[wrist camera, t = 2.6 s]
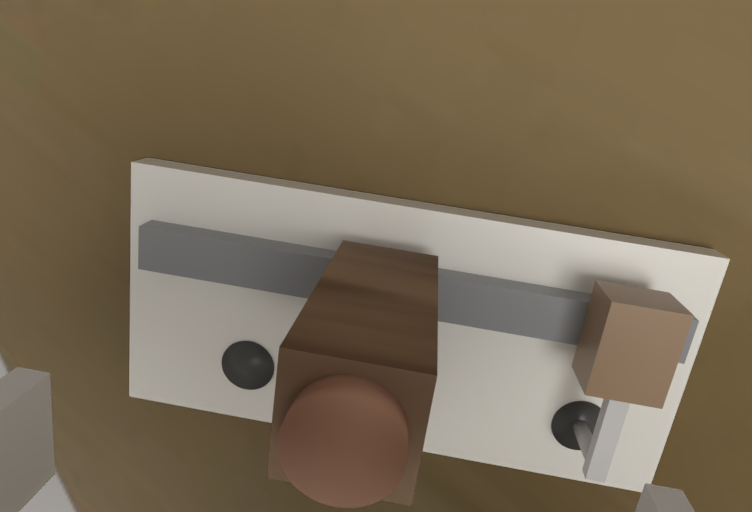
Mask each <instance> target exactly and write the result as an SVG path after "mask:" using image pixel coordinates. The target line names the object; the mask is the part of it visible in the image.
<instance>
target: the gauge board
mask: <svg viewBox="0 0 752 512" xmlns="http://www.w3.org/2000/svg"><path fill="white" fill-rule="evenodd" d="M343 240H346V241H352V242H358V243H364V244H370V245H376V246H382V247H387V248H393V249H399V250H405V251H411V252H417V253H423V254H429V255H435V256H438V361H437V380H436V385H435V390H434V395H433V400H432V405H431V411H430V416H429V421H428V426H427V431H426V436H425V441H424V446H423V451H424V452H429V453H434V454H440V455H445V456H450V457H456V458H461V459H466V460H472V461H477V462H482V463H488V464H493V465H498V466H504V467H509V468H514V469H520V470H525V471H530V472H536V473H541V474H546V475H552V476H557V477H562V478H568V479H573V480H578V481H584V482H589V483H595V484H600V485H605V486H611V487H616V488H621V489H627V490H632V491H637V492H642V491H643V488H644V485H645V483H647V484H651V483H652V480H653V477H654V474H655V471H656V468H657V466H658V463H659V460H660V457H661V454H662V451H663V449H664V446H665V443H666V440H667V437H668V434H669V431H670V429H671V426H672V423H673V420H674V417H675V414H676V412H677V409H678V406H679V403H680V400H681V397H682V394H683V392H684V389H685V386H686V383H687V380H688V377H689V375H690V372H691V369H692V366H693V363H694V360H695V357H696V355H697V352H698V349H699V346H700V343H701V340H702V338H703V335H704V332H705V329H706V326H707V323H708V320H709V318H710V315H711V312H712V309H713V306H714V303H715V301H716V298H717V295H718V292H719V289H720V286H721V283H722V281H723V278H724V275H725V272H726V269H727V266H728V264H729V261H730V259H729V258H727V257H726V256H724V255H723V254H721V253H719V252H718V251H716V250H715V249H711V248H705V247H699V246H692V245H686V244H680V243H674V242H668V241H661V240H655V239H649V238H643V237H637V236H630V235H624V234H618V233H612V232H606V231H600V230H593V229H587V228H581V227H575V226H569V225H562V224H556V223H550V222H544V221H538V220H532V219H525V218H519V217H513V216H507V215H501V214H494V213H488V212H482V211H476V210H470V209H464V208H457V207H451V206H445V205H439V204H433V203H426V202H420V201H414V200H408V199H402V198H395V197H389V196H383V195H377V194H371V193H365V192H358V191H352V190H346V189H340V188H334V187H327V186H321V185H315V184H309V183H303V182H297V181H290V180H284V179H278V178H272V177H266V176H259V175H253V174H247V173H241V172H235V171H229V170H222V169H216V168H210V167H204V166H198V165H191V164H185V163H179V162H173V161H167V160H160V159H154V158H148V157H147V158H144V159H140V160H136V161H133V162H131V245H130V362H129V396H130V397H135V398H141V399H146V400H151V401H157V402H162V403H167V404H173V405H178V406H183V407H189V408H194V409H199V410H205V411H210V412H215V413H221V414H226V415H231V416H237V417H242V418H247V419H253V420H258V421H263V422H269V423H272V415H273V404H274V394H275V384H276V374H277V364H278V354H279V347H280V345H281V343H282V342H283V340H284V338H285V337H286V335H287V333H288V332H289V330H290V328H291V327H292V325H293V323H294V322H295V320H296V318H297V317H298V315H299V313H300V311H301V310H302V308H303V306H304V305H305V303H306V301H307V300H308V298H309V296H310V295H311V293H312V291H313V290H314V288H315V286H316V285H317V283H318V281H319V280H320V278H321V276H322V275H323V273H324V271H325V270H326V268H327V266H328V265H329V263H330V261H331V260H332V258H333V256H334V255H335V253H336V251H337V249H338V248H339V246H340V244H341V243H342V241H343Z"/></svg>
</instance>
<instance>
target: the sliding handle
mask: <svg viewBox="0 0 752 512" xmlns="http://www.w3.org/2000/svg"><path fill="white" fill-rule="evenodd" d="M437 361H438V256H435V255H429V254H423V253H417V252H411V251H405V250H399V249H393V248H387V247H382V246H376V245H370V244H364V243H358V242H352V241H346V240H343V241H342V243H341V244H340V246H339V248H338V249H337V251H336V253H335V255H334V256H333V258H332V260H331V261H330V263H329V265H328V266H327V268H326V270H325V271H324V273H323V275H322V276H321V278H320V280H319V281H318V283H317V285H316V286H315V288H314V290H313V291H312V293H311V295H310V296H309V298H308V300H307V301H306V303H305V305H304V306H303V308H302V310H301V311H300V313H299V315H298V317H297V318H296V320H295V322H294V323H293V325H292V327H291V328H290V330H289V332H288V333H287V335H286V337H285V338H284V340H283V342H282V343H281V345H280V347H279V354H278V364H277V374H276V384H275V394H274V404H273V415H272V425H271V435H270V445H269V455H268V465H267V475H266V479H271V480H276V481H282V482H287V483H292V484H293V485H294V486H295V487H296V488H297V489H298V490H299V491H300V492H302V493H303V494H304V495H306V496H307V497H309V498H311V499H313V500H315V501H317V502H319V503H322V504H325V505H328V506H332V507H338V508H359V507H364V506H368V505H371V504H374V503H376V502H378V501H385V502H390V503H395V504H401V505H406V506H411V507H412V502H413V497H414V492H415V487H416V482H417V476H418V471H419V466H420V461H421V456H422V451H423V446H424V441H425V436H426V431H427V426H428V421H429V416H430V411H431V405H432V400H433V395H434V390H435V385H436V380H437Z"/></svg>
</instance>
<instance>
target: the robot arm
mask: <svg viewBox="0 0 752 512" xmlns="http://www.w3.org/2000/svg"><path fill="white" fill-rule="evenodd" d="M54 474H55V464H54V444H53V424H52V404H51V384H50V373H48V372H42V371H37V370H31V369H26V368H21V367H16V368H15V369H14V370H12V371H11V372H9V373H8V374H7V375H5V376H4V377H3V378H1V379H0V512H19V511H20V510H21V509H22V508H23V507H24V506H25V505H26V504H27V503H28V501H29V500H30V499H31V498H32V497H33V496H34V495H35V494H36V493H37V492H38V491H39V490H40V489H41V488H42V487H43V486H44V485H45V484H46V483H47V482H48V481H49V479H50V478H51V477H52V476H53V475H54ZM635 512H695V511H694V510H693V508H692V506H691V505H690V503H689V501H688V499H687V498H686V496H685V494H684V492H683V491H682V490H679V489H674V488H669V487H663V486H658V485H652V484H647V483H645V485H644V488H643V491H642V493H641V496H640V499H639V502H638V505H637V507H636V510H635Z"/></svg>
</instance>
